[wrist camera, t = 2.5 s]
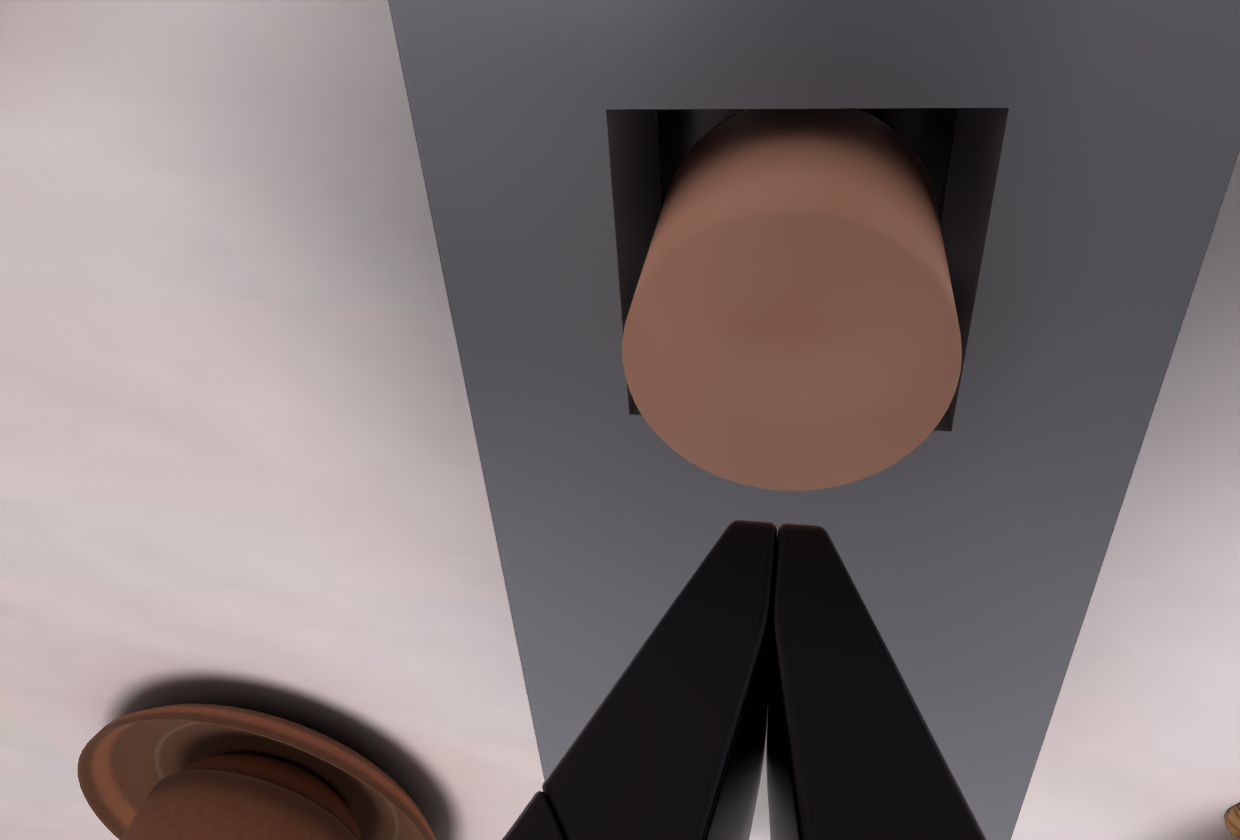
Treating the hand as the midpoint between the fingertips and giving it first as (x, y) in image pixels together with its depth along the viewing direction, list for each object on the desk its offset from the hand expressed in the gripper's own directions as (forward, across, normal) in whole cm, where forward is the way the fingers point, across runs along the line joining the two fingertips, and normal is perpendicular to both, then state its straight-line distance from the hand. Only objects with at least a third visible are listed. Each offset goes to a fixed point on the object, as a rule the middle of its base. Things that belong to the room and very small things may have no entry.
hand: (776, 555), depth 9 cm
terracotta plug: (+7, 0, 0) cm, 7 cm away
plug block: (+9, 0, +6) cm, 11 cm away
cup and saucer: (+10, +16, +22) cm, 29 cm away
